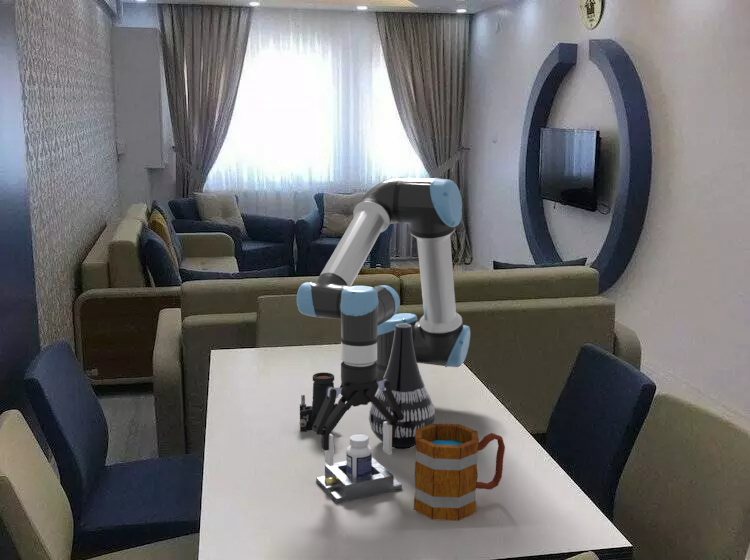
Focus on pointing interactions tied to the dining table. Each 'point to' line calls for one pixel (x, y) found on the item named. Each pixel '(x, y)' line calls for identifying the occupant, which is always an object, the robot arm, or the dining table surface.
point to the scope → (315, 400)
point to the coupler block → (356, 482)
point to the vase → (404, 392)
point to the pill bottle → (359, 457)
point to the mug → (450, 470)
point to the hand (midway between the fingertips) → (358, 458)
